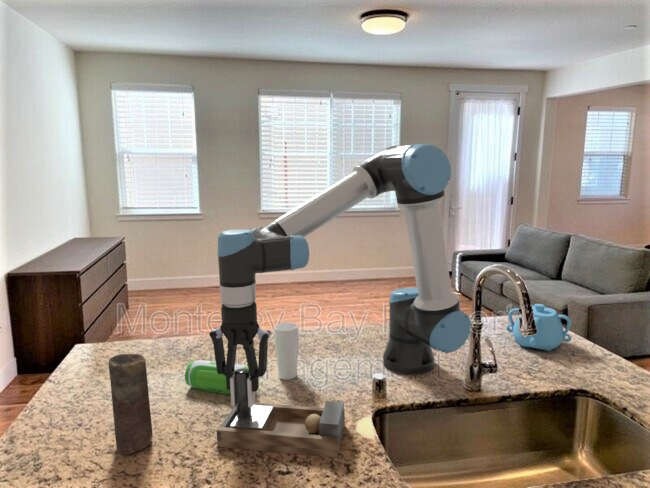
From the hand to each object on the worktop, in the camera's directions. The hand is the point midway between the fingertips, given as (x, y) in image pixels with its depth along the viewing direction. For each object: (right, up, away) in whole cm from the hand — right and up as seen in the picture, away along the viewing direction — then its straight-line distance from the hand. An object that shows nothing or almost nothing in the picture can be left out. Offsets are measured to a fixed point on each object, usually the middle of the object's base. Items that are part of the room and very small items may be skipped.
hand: (243, 403), depth 102 cm
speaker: (-10, -4, +21) cm, 24 cm away
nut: (+16, -4, -2) cm, 16 cm away
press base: (+9, -7, 0) cm, 11 cm away
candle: (-23, -8, -3) cm, 25 cm away
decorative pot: (+88, +2, +49) cm, 101 cm away
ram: (+2, -5, +1) cm, 6 cm away
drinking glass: (+8, -2, +28) cm, 29 cm away
